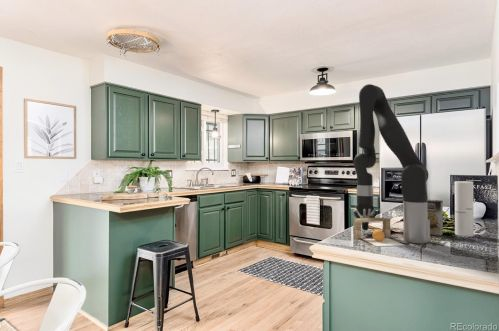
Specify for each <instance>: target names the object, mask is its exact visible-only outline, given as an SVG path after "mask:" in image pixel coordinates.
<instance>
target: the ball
mask: <svg viewBox="0 0 499 331" xmlns="http://www.w3.org/2000/svg"><path fill="white" fill-rule="evenodd" d="M371 236H372V239H374V240H376V241H382V240H383V239H384V238H386V237H385V234H384V232H383V230H381V229H375V230H373V231H372V235H371Z"/></svg>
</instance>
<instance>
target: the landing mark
mask: <svg viewBox="0 0 499 331" xmlns="http://www.w3.org/2000/svg"><path fill="white" fill-rule="evenodd" d="M362 240H363V241H364V242H367V243H369V244H370V245H372V246H375V247H400V246H401V247H402V246H403V247H404V246H405V244H403V243H400V242H399V241H397V240H394V239H391V238H386V237H384V239H383V240H382V241H376V240H374V238H362Z"/></svg>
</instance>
